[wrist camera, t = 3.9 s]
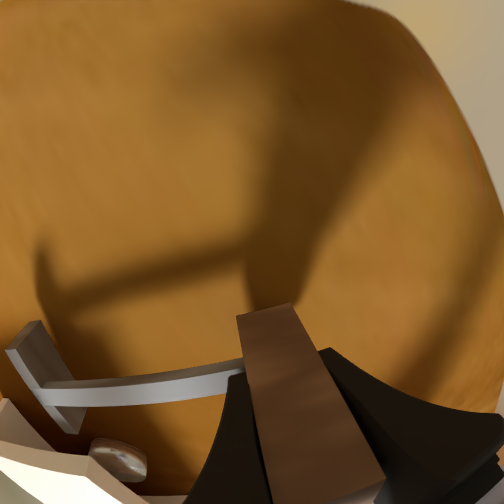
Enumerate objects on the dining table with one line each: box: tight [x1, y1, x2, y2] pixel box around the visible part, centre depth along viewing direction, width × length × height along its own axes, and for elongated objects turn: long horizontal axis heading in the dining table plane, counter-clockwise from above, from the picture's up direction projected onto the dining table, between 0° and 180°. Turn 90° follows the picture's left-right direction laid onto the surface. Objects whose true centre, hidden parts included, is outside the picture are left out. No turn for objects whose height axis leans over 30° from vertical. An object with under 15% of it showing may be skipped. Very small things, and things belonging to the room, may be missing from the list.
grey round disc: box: [88, 438, 148, 482], centre depth 16 cm, size 5×5×2 cm
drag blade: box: [5, 303, 386, 504], centre depth 8 cm, size 14×6×9 cm, turn 101°
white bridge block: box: [0, 398, 187, 504], centre depth 14 cm, size 12×18×6 cm, turn 11°
